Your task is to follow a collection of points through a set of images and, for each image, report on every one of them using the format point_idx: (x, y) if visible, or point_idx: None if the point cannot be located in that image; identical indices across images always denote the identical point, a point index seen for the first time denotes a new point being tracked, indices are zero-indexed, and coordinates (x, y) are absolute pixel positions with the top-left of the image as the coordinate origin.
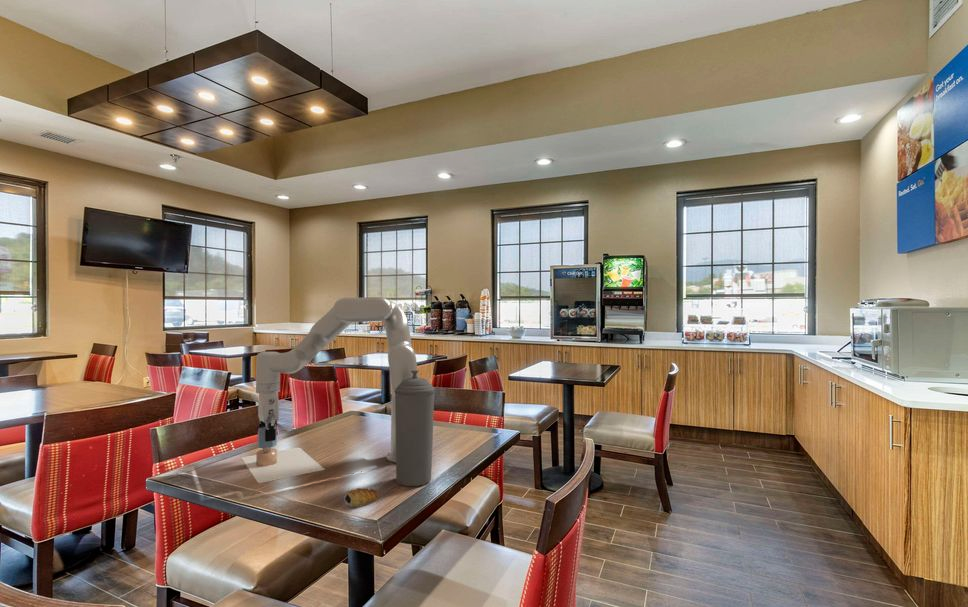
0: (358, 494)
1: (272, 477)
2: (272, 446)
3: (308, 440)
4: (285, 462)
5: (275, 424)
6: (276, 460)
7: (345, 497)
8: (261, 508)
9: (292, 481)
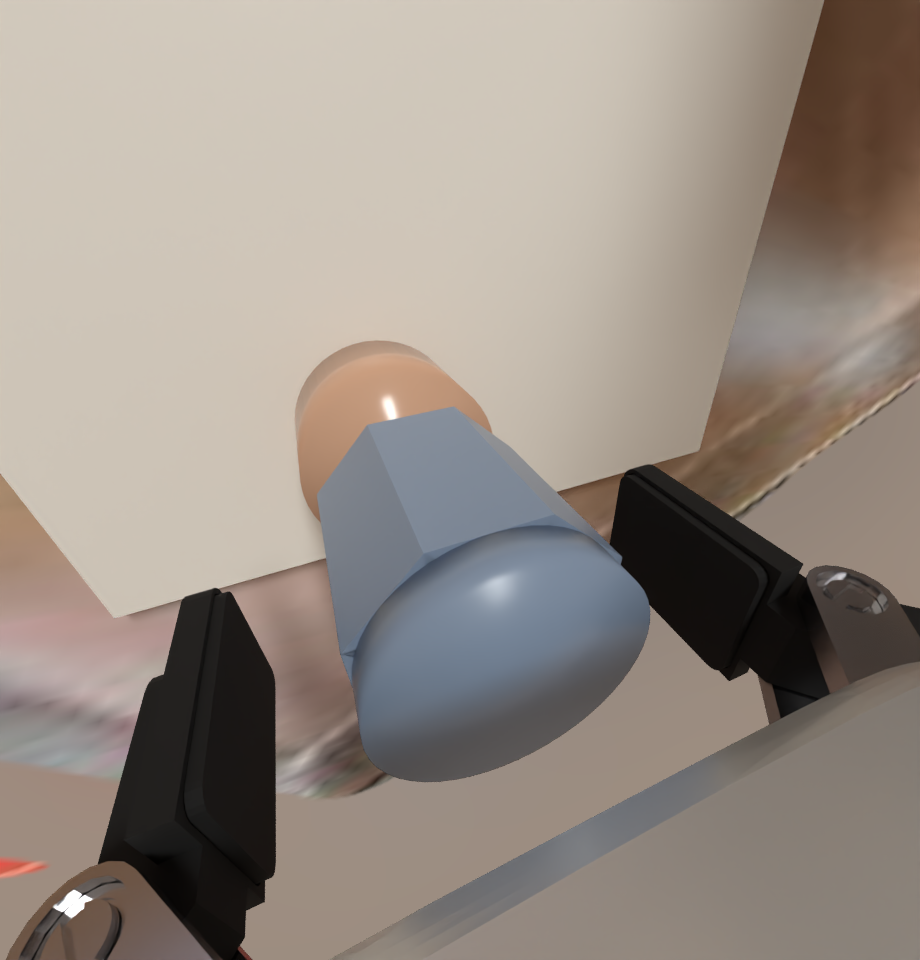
0: None
1: (680, 386)
2: (513, 450)
3: None
4: (439, 265)
5: (915, 629)
6: (417, 352)
7: None
8: (858, 422)
9: (754, 269)
